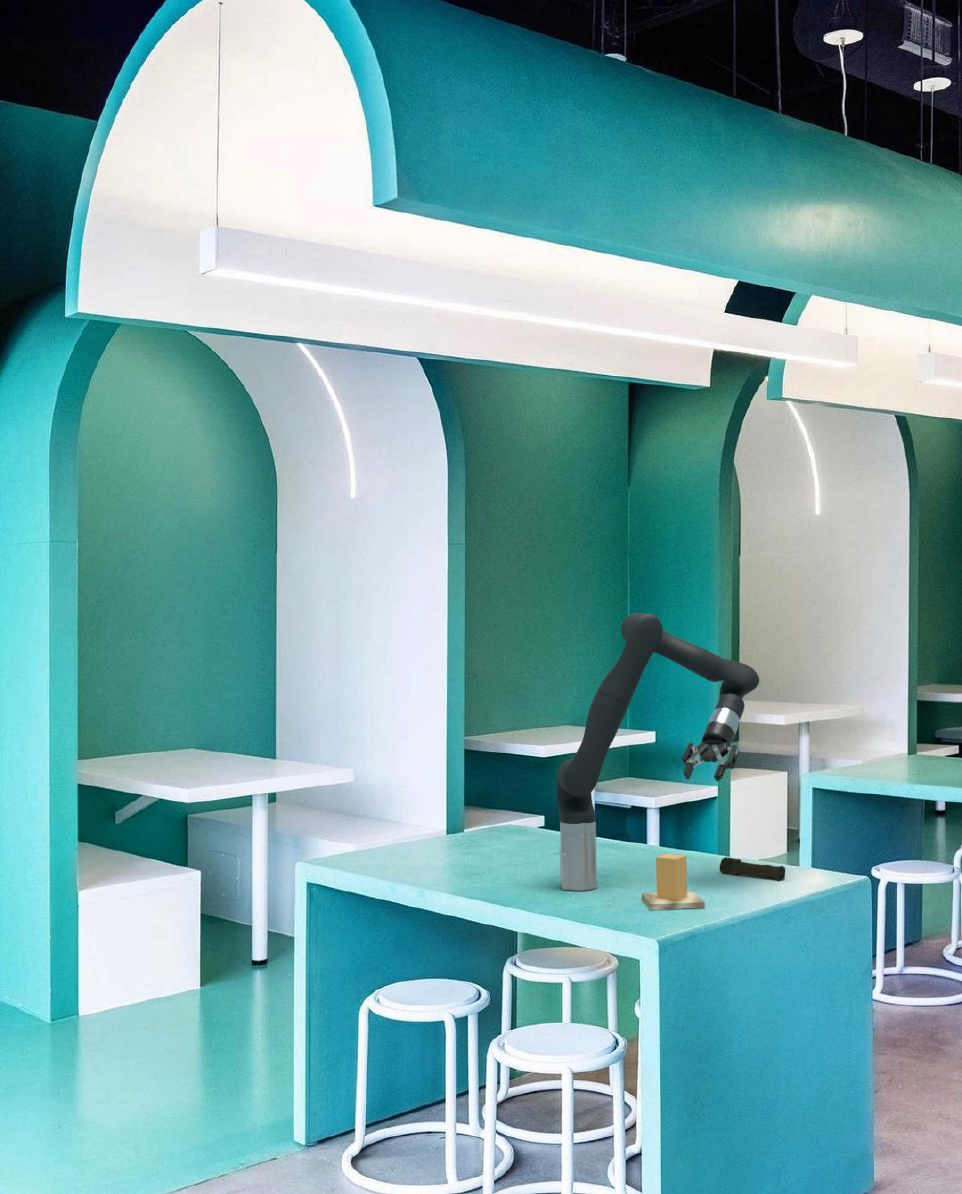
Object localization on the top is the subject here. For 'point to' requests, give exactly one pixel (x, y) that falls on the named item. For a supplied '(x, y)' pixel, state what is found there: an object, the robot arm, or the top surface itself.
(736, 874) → the hand tool
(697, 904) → the post board
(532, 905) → the top surface
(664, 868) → the tall orange pillar
